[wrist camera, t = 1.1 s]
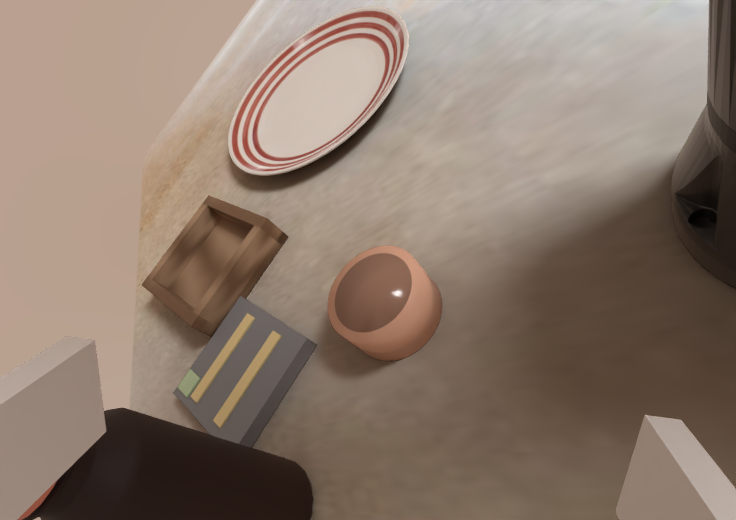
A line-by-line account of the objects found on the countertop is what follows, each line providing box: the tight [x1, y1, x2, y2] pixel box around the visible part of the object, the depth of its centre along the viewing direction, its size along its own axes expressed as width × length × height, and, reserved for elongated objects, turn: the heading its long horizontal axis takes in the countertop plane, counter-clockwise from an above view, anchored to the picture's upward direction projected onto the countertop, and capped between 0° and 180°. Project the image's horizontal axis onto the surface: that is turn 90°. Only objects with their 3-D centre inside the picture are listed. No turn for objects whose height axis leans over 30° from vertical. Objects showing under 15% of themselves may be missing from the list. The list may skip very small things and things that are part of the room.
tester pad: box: [173, 296, 317, 448], centre depth 43 cm, size 11×11×2 cm
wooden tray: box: [142, 196, 288, 337], centre depth 52 cm, size 13×13×4 cm
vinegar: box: [17, 408, 313, 520], centre depth 28 cm, size 7×7×20 cm
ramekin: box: [328, 246, 442, 361], centre depth 37 cm, size 8×8×4 cm
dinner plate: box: [228, 6, 409, 176], centre depth 60 cm, size 27×27×3 cm
